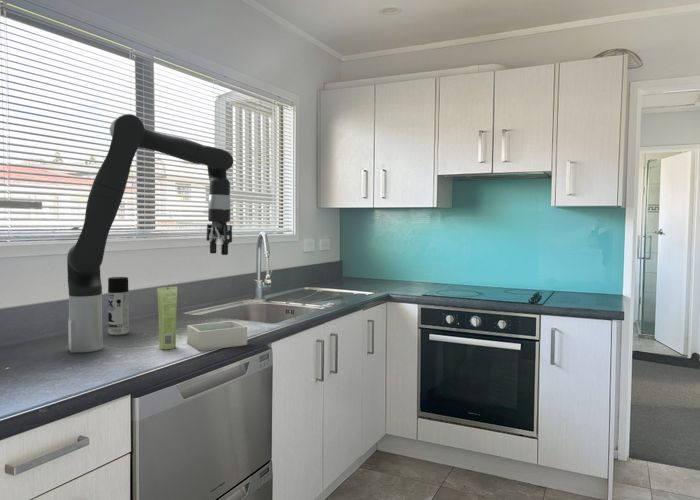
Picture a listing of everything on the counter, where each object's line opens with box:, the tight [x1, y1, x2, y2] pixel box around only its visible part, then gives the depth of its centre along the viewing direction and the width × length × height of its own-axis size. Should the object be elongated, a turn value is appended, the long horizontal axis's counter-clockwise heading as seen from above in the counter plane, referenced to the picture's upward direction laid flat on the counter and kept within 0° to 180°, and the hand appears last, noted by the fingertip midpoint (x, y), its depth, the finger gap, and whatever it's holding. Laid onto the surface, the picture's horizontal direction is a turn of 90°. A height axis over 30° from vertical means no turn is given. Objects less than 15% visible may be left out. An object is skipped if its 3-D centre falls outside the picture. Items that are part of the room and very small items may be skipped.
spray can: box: [107, 276, 130, 336], centre depth 188 cm, size 7×7×20 cm
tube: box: [156, 285, 178, 350], centre depth 168 cm, size 6×5×20 cm
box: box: [186, 320, 248, 352], centre depth 174 cm, size 16×12×6 cm
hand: (218, 254), depth 187 cm, fingers open, 8 cm apart
